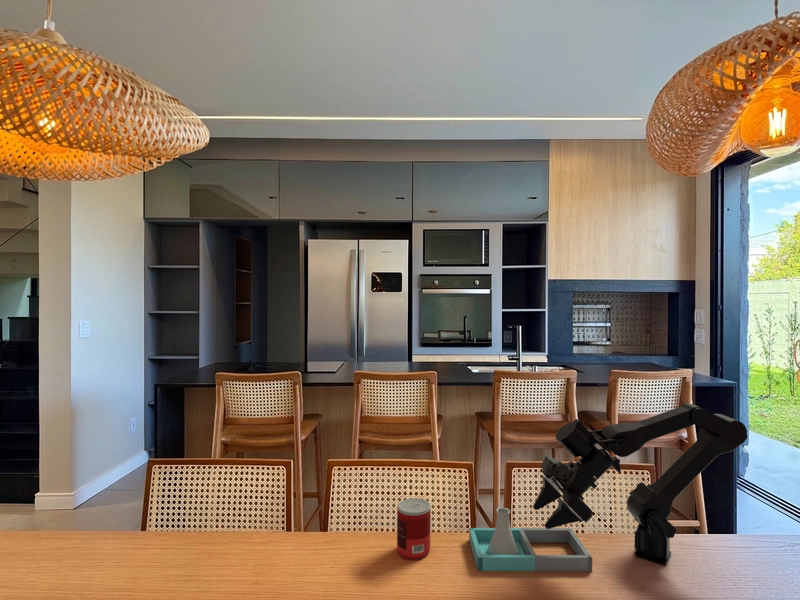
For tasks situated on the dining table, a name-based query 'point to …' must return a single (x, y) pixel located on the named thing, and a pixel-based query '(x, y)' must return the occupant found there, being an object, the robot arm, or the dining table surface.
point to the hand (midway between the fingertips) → (539, 517)
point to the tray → (530, 551)
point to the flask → (502, 535)
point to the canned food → (413, 528)
